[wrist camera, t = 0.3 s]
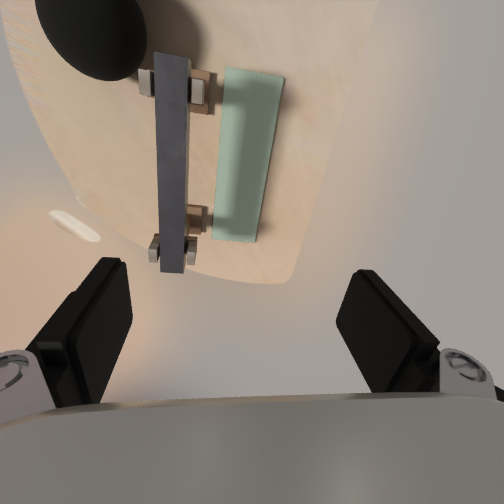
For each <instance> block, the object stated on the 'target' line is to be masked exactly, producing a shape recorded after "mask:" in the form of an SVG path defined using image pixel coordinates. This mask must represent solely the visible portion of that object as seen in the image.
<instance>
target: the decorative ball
mask: <svg viewBox="0 0 504 504" xmlns="http://www.w3.org/2000/svg"><path fill="white" fill-rule="evenodd" d="M35 5H36V10H37V15H38V18H39V21H40V23H41V26H42V28H43V30H44V32H45V34H46V36H47V38H48V40H49V41H50V43H51V44H52V46H53V47H54V48H55V50H56V51H57V52H58V53H59V54H60V55H61V57H62V58H63V59H64V60H65V61H67V62H68V63H69V64H70V65H71V66H72V67H74V68H75V69H77V70H78V71H80V72H81V73H83V74H85V75H87V76H89V77H92V78H95V79H98V80H103V81H117V80H121V79H124V78H127V77H128V76H130V75H131V74H133V73H134V72H135V71H136V70H137V69H138V67H139V66H140V64H141V63H142V61H143V58H144V55H145V51H146V44H147V34H146V27H145V22H144V18H143V15H142V12H141V9H140V7H139V5H138V3H137V1H136V0H35Z"/></svg>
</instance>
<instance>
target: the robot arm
mask: <svg viewBox="0 0 504 504" xmlns="http://www.w3.org/2000/svg"><path fill="white" fill-rule="evenodd" d="M132 319H133V314H132V306H131V299H130V291H129V283H128V276H127V268H126V263H125V262H121V260H120V258H112V257H102V258H101V259H100V260H99V262H98V263H97V264H96V265H95V267H94V268H93V269H92V271H91V272H90V273H89V274H88V276H87V277H86V278H85V280H84V281H83V282H82V283H81V285H80V286H79V287H78V288H77V290H76V291H74V292H71V293H70V294H69V295H68V296H67V298H66V299H65V300H64V302H63V303H62V304H61V305H60V307H59V308H58V309H57V310H56V312H55V313H54V314H53V315H52V317H51V318H50V319H49V320H48V322H47V323H46V324H45V325H44V327H43V328H42V329H41V330H40V331H39V333H38V334H37V335H36V336H35V338H34V339H33V340H32V341H31V343H30V344H29V345H28V347H27V348H26V349H25V350H12V351H6V352H3V353H0V504H504V390H502V389H500V388H498V387H496V386H494V383H493V379H492V376H491V374H490V372H489V371H488V370H487V369H486V367H485V366H483V365H482V364H481V363H480V362H479V361H478V360H476V359H475V358H473V357H472V356H470V355H468V354H466V353H464V352H462V351H459V350H456V349H451V348H447V349H443V350H442V351H441V352H440V351H439V350H438V349H437V346H438V345H439V343H440V341H439V340H438V339H437V338H436V337H435V336H434V335H433V334H432V333H431V332H430V331H429V329H427V327H426V326H425V325H424V324H423V323H422V322H421V321H420V320H419V319H418V318H417V317H416V315H415V314H413V312H412V311H411V310H410V309H409V308H408V307H407V306H406V305H405V304H404V303H403V302H402V300H401V299H399V297H398V296H397V295H396V294H395V293H394V292H393V291H392V290H391V289H390V288H389V287H388V285H387V284H386V283H385V282H384V281H383V280H382V279H381V278H380V277H379V276H378V275H377V274H376V273H375V272H374V271H373V270H362V269H360V270H358V271H357V272H356V273H354V274H353V275H352V278H351V280H350V283H349V286H348V288H347V291H346V294H345V297H344V299H343V302H342V304H341V307H340V310H339V312H338V315H337V318H336V325H337V328H338V330H339V331H340V333H341V335H342V337H343V339H344V341H345V343H346V345H347V347H348V348H349V350H350V352H351V354H352V356H353V358H354V360H355V362H356V363H357V365H358V367H359V369H360V371H361V373H362V375H363V377H364V379H365V381H366V382H367V384H368V386H369V388H370V390H371V392H372V393H350V394H316V395H283V396H253V397H225V398H201V399H200V398H198V399H175V400H173V399H172V400H151V401H133V402H132V401H131V402H114V403H100V401H101V399H102V396H103V394H104V391H105V389H106V386H107V384H108V381H109V379H110V376H111V374H112V371H113V369H114V366H115V364H116V361H117V359H118V356H119V354H120V352H121V349H122V347H123V344H124V342H125V339H126V337H127V334H128V332H129V329H130V327H131V324H132Z"/></svg>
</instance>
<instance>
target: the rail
mask: <svg viewBox="0 0 504 504" xmlns="http://www.w3.org/2000/svg"><path fill="white" fill-rule="evenodd" d="M154 82H155V114H156V145H157V176H158V208H159V239H160V270H161V272H167V273H182V274H183V273H184V268H185V264H186V242H187V205H188V168H189V131H190V95H191V61H190V60H189V58H186V57H181V56H176V55H171V54H166V53H161V52H155V51H154Z"/></svg>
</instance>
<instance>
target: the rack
mask: <svg viewBox="0 0 504 504" xmlns="http://www.w3.org/2000/svg"><path fill="white" fill-rule="evenodd" d="M138 77H139V94H142V95H147V97H153V98H155V82H154V70H149V69H146V70H143V69H138ZM209 83H210V72H207V71H201V70H196V69H191V95H190V112H194V113H200V114H206V115H208V100H209ZM201 221H202V206H197V205H187V242H186V254H187V265H194V264H195V258H196V252H197V237H191V236H188V235H189V234H199V235H201ZM148 251H149V262H154V263H157V262H158V259H159V256H160V239H159V234H156V233H155V235H154V238H153V240H152V242H151V245H150V247H149V249H148Z"/></svg>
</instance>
